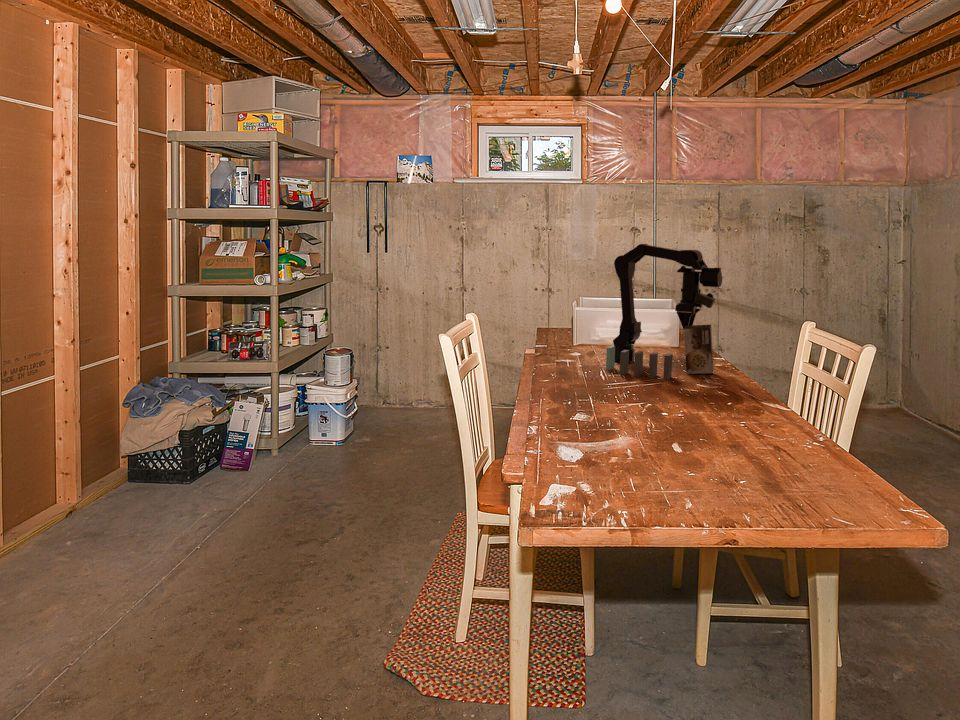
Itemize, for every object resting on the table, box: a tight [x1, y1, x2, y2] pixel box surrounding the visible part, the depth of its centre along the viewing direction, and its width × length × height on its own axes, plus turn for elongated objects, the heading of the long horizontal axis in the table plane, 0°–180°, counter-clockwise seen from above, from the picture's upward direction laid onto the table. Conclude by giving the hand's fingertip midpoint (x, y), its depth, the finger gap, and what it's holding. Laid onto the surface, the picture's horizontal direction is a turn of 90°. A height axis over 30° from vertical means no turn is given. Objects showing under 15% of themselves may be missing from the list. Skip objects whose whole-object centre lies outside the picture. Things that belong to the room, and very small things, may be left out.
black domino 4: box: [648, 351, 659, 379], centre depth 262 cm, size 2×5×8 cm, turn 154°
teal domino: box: [605, 345, 616, 371], centre depth 276 cm, size 2×5×8 cm, turn 154°
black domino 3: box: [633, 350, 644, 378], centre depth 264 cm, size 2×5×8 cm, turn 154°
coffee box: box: [683, 324, 715, 375], centre depth 268 cm, size 9×6×16 cm
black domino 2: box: [619, 350, 630, 376], centre depth 267 cm, size 2×5×8 cm, turn 154°
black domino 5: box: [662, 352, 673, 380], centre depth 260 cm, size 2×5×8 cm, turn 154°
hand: (687, 329), depth 276 cm, fingers open, 8 cm apart
